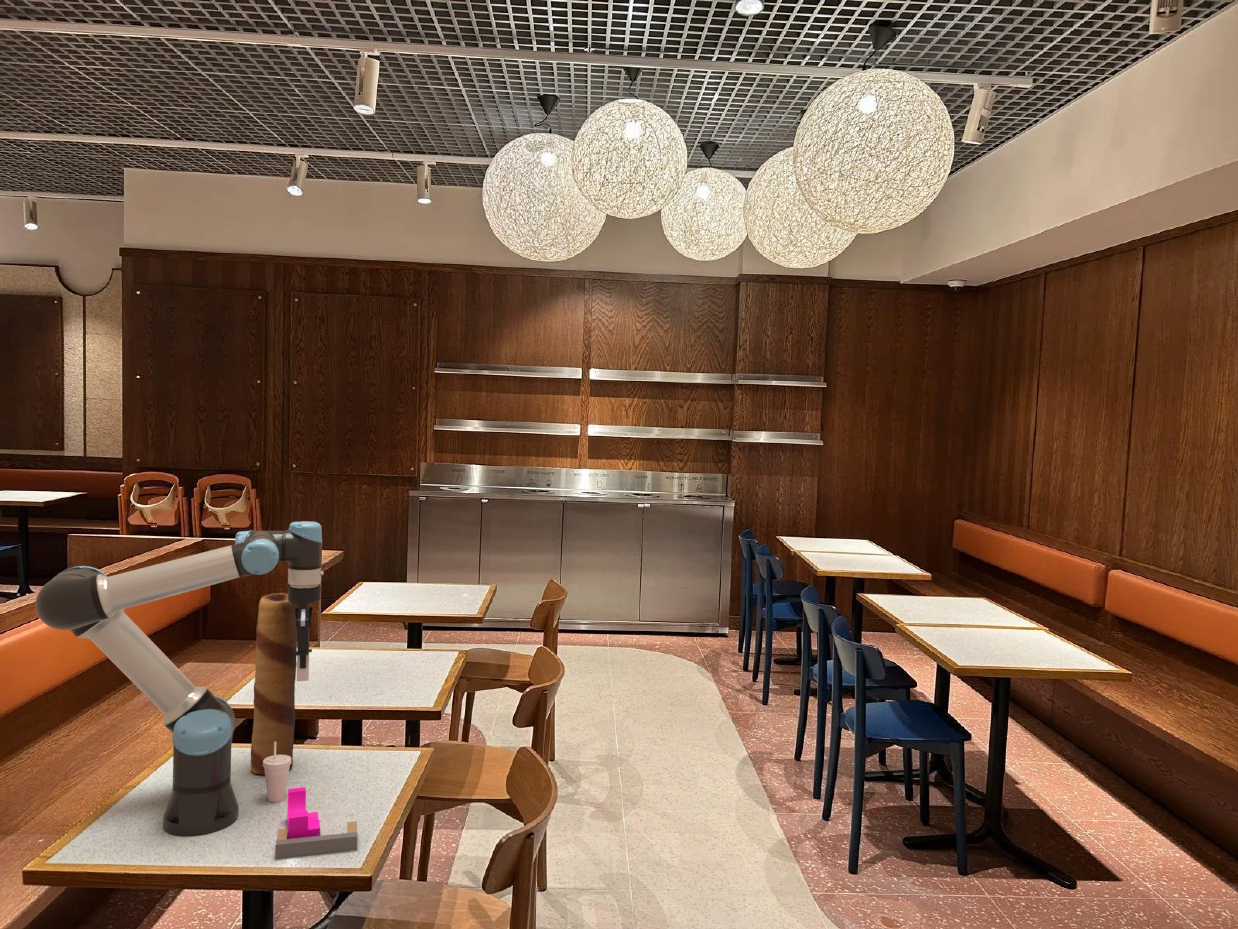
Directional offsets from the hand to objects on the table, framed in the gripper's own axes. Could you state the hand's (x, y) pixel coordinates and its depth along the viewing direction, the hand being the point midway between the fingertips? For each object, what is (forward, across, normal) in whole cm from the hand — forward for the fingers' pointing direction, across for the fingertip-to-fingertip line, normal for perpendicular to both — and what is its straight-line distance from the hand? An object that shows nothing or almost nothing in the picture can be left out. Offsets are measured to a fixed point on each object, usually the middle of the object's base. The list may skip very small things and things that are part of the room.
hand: (302, 680), depth 209 cm
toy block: (+27, -26, -2) cm, 37 cm away
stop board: (+26, -36, -5) cm, 45 cm away
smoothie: (+27, -7, +5) cm, 28 cm away
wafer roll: (+27, +12, +7) cm, 30 cm away
